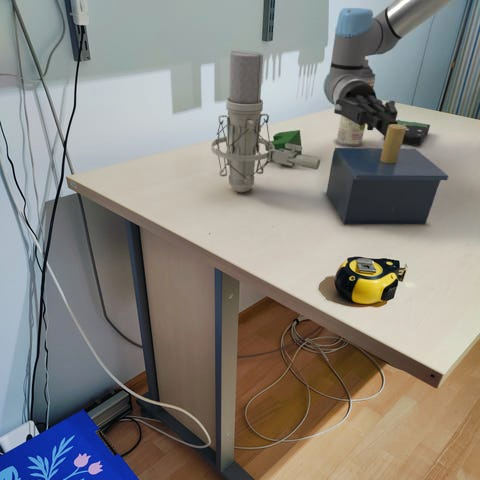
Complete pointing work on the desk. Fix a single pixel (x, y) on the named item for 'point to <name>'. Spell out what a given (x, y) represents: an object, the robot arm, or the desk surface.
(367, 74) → the aerosol can
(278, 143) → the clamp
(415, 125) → the disk drive
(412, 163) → the lid
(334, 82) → the robot arm
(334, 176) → the bin
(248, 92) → the microphone
